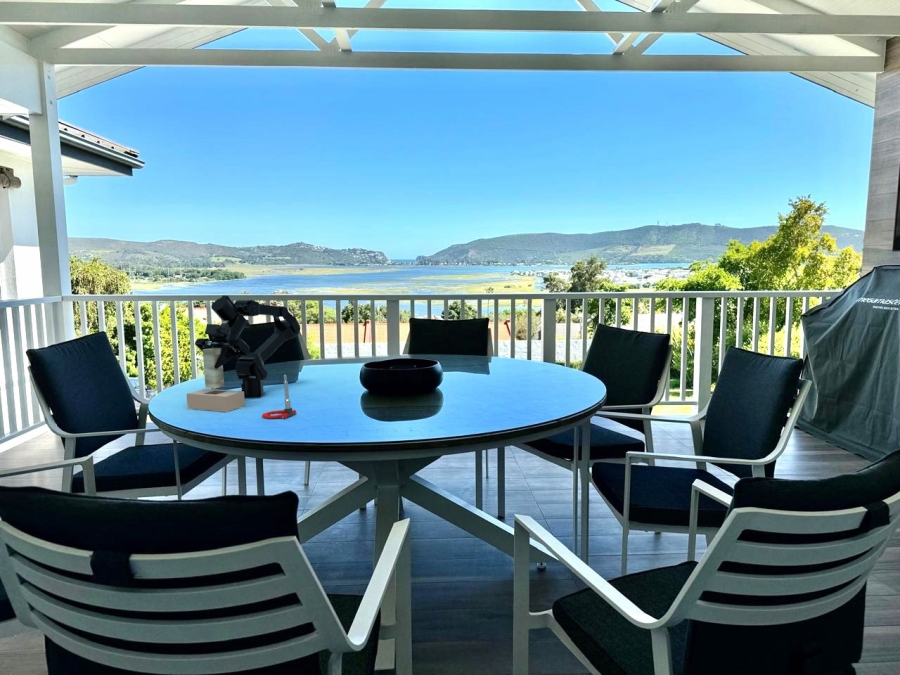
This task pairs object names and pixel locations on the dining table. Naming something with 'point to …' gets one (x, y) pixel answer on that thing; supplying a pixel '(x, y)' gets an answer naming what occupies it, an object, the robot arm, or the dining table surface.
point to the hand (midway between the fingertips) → (210, 367)
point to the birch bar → (212, 368)
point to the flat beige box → (215, 400)
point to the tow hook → (288, 409)
